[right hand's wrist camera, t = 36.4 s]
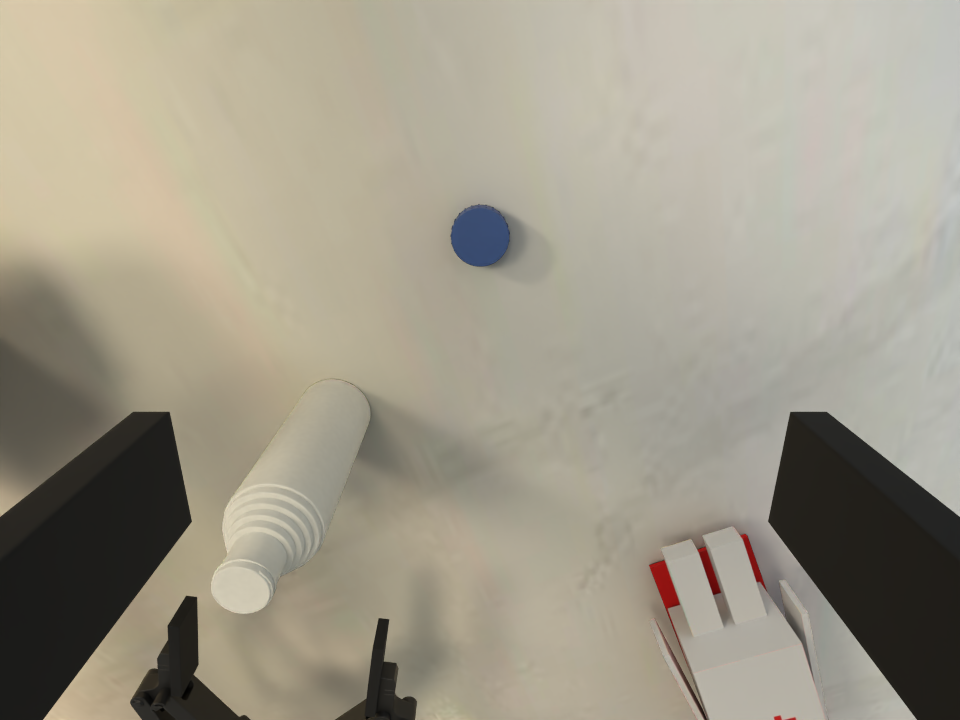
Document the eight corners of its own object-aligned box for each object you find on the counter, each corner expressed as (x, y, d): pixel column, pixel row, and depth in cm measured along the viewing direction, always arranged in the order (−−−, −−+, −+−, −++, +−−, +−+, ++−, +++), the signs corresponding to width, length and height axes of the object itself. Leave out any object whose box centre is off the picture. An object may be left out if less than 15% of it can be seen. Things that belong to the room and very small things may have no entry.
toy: (803, 560, 43) (895, 867, 49) (736, 481, 56) (815, 731, 62) (642, 607, 45) (750, 899, 51) (613, 520, 58) (701, 760, 64)
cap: (512, 256, 45) (514, 262, 43) (457, 266, 45) (456, 271, 43) (504, 199, 44) (505, 202, 42) (446, 209, 44) (445, 212, 42)
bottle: (333, 455, 51) (242, 654, 32) (284, 406, 50) (155, 583, 30) (385, 416, 50) (323, 599, 30) (336, 365, 48) (238, 521, 29)
